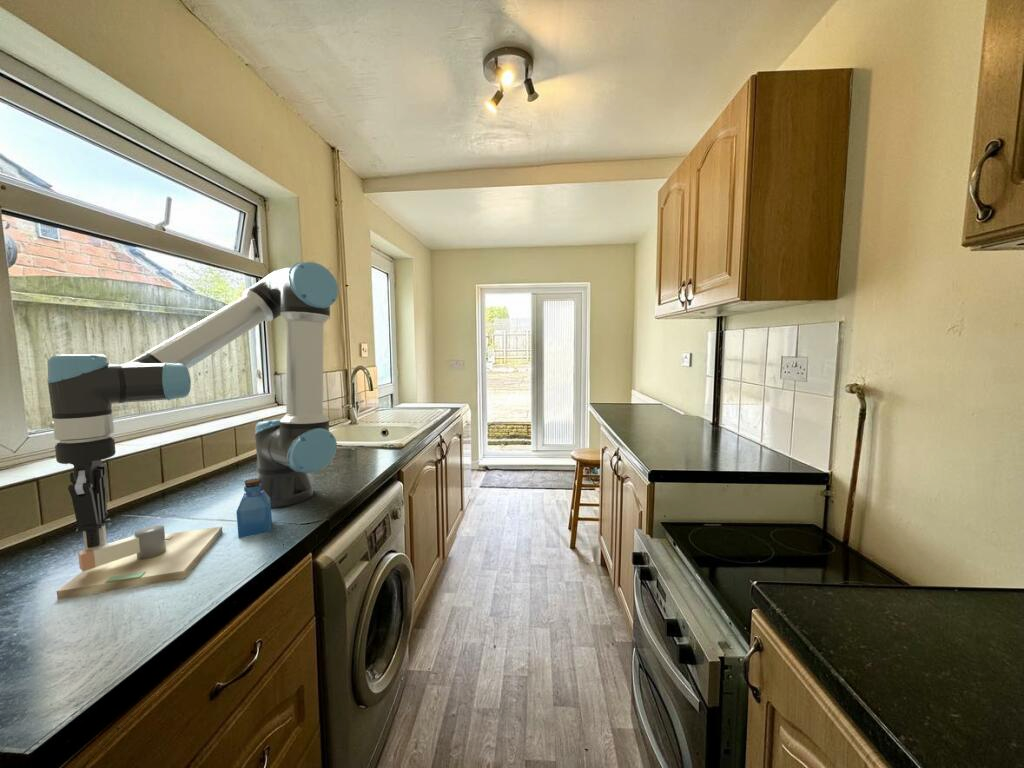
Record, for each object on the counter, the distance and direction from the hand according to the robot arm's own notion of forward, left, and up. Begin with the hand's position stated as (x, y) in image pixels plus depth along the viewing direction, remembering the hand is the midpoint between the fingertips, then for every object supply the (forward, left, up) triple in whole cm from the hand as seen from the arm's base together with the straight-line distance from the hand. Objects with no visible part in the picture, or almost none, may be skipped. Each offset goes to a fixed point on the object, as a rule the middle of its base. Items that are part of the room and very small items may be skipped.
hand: (97, 560), depth 76 cm
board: (-7, -3, -3) cm, 8 cm away
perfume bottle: (-23, -12, -3) cm, 26 cm away
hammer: (-4, 0, -1) cm, 4 cm away
